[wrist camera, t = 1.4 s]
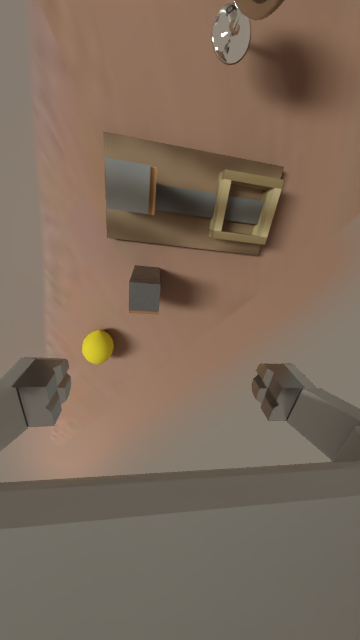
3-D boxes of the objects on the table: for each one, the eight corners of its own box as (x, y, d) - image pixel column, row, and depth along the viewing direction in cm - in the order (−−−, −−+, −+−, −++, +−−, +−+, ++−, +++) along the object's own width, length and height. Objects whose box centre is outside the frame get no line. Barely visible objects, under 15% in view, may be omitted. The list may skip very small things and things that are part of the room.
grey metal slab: (135, 265, 34) (129, 281, 26) (159, 267, 35) (160, 284, 27) (134, 291, 36) (128, 314, 28) (157, 293, 37) (158, 316, 29)
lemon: (87, 322, 38) (78, 334, 33) (117, 326, 39) (112, 338, 34) (86, 355, 41) (77, 371, 36) (114, 357, 42) (109, 373, 37)
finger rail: (106, 135, 26) (75, 88, 16) (278, 168, 30) (341, 147, 20) (109, 236, 32) (88, 249, 21) (254, 253, 35) (294, 271, 25)
